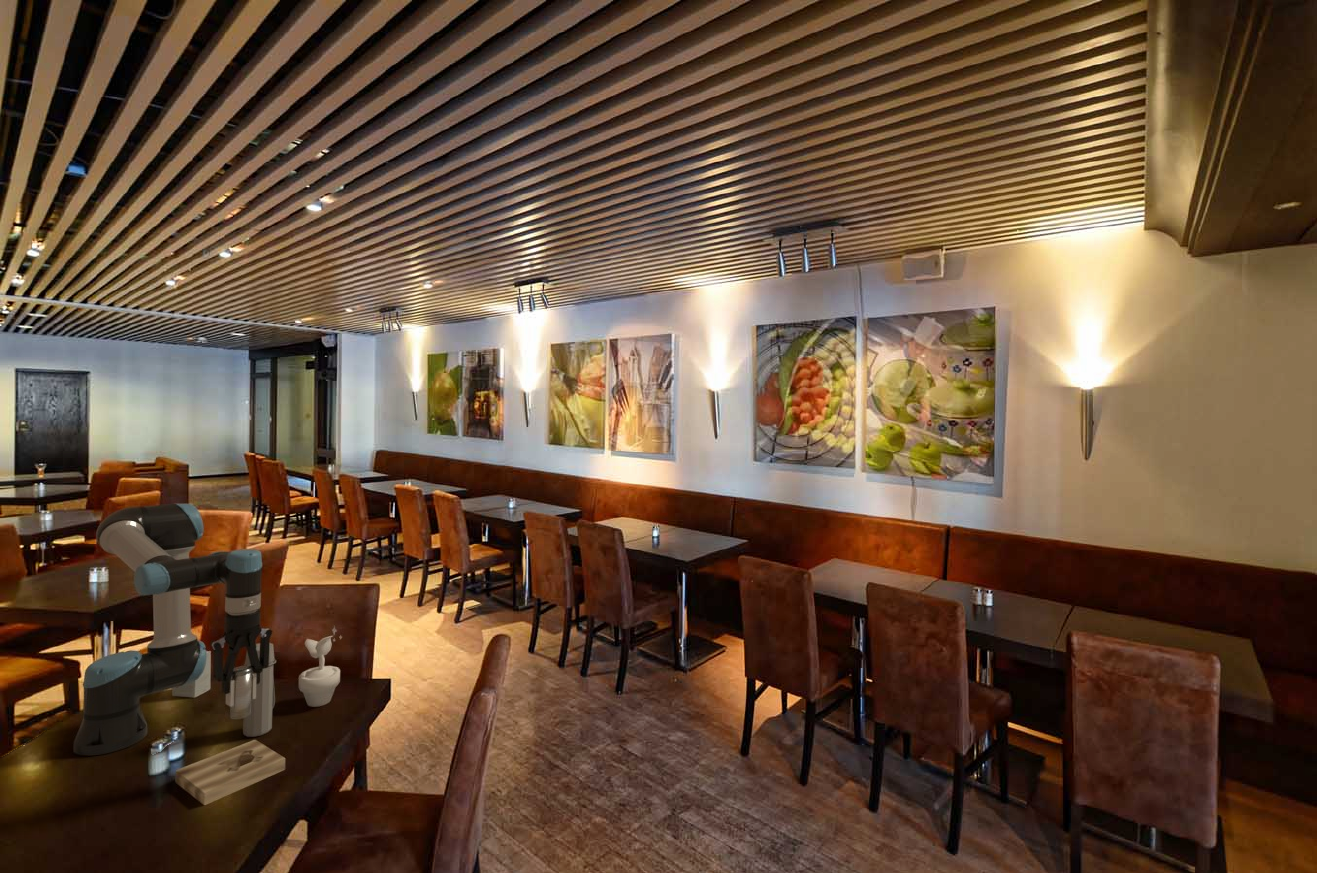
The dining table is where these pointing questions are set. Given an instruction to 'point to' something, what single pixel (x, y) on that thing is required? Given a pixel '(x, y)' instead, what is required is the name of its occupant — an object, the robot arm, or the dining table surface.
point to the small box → (196, 683)
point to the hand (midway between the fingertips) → (240, 701)
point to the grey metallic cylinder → (242, 692)
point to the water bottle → (261, 700)
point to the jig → (229, 771)
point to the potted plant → (319, 674)
